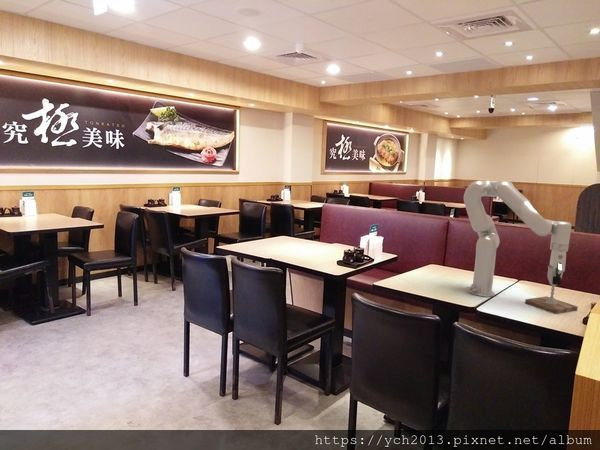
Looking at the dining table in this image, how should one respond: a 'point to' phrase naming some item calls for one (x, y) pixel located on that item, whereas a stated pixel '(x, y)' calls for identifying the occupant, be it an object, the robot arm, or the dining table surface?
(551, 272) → the chalice
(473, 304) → the dining table surface
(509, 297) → the dining table surface
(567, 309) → the serving board
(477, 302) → the dining table surface
